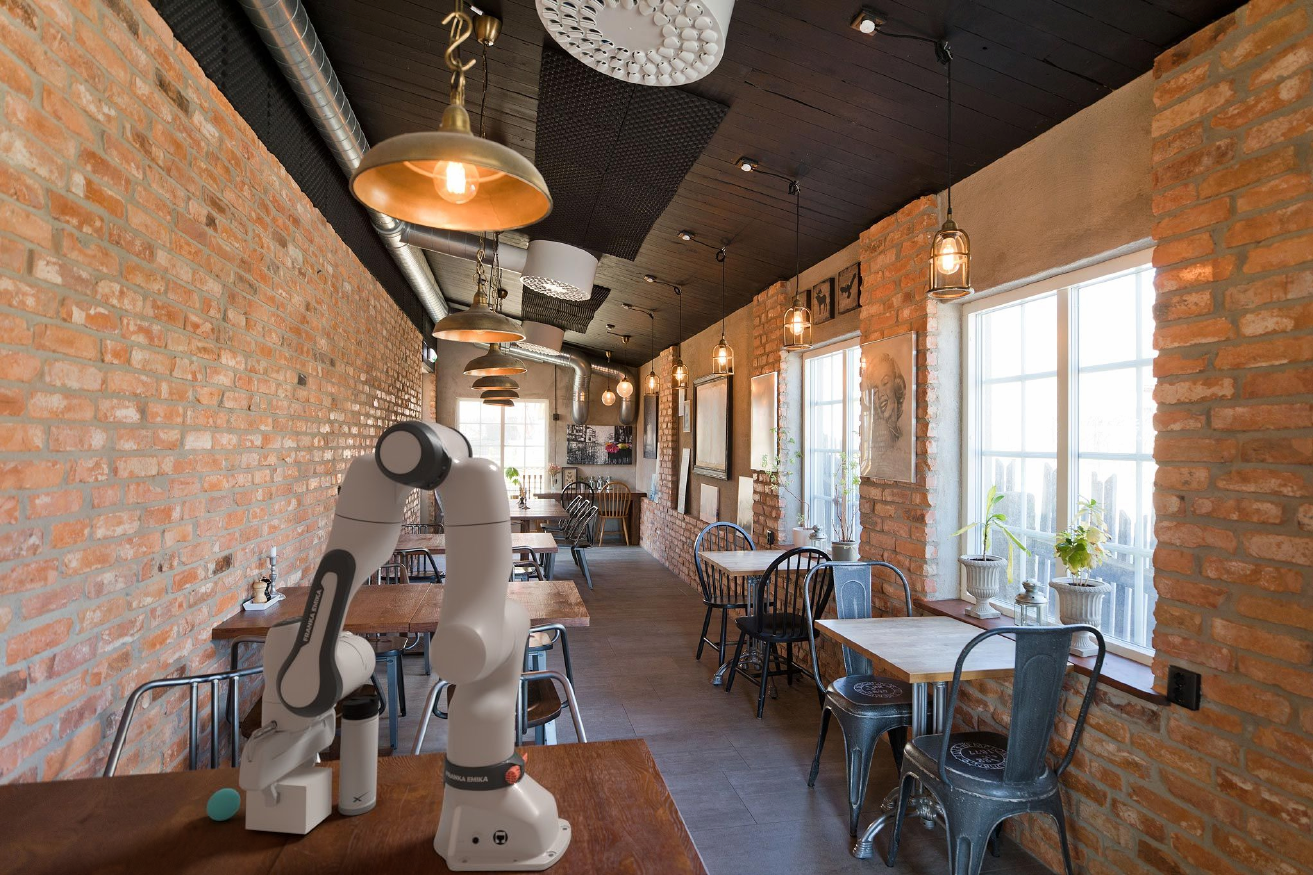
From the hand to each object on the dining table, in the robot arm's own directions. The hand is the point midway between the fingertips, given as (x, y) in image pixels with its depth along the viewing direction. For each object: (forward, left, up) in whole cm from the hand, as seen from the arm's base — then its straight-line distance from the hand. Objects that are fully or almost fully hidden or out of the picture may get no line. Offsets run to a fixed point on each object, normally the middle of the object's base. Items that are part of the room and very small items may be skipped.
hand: (289, 793), depth 119 cm
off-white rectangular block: (0, 0, -5) cm, 5 cm away
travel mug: (-8, -8, -6) cm, 13 cm away
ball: (+13, 0, -3) cm, 13 cm away
